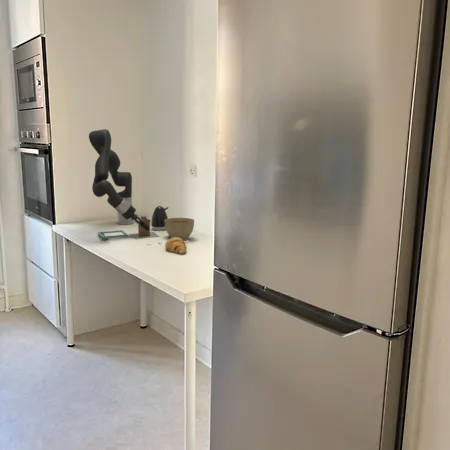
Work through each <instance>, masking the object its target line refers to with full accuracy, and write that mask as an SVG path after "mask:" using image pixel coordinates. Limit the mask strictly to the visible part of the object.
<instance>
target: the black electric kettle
mask: <svg viewBox="0 0 450 450" xmlns="http://www.w3.org/2000/svg"><path fill="white" fill-rule="evenodd" d="M168 209H169V207H168V206H166V207H163V206H161V205H158V206H156V207H155V209H154V210H153V212H152V216H151V221H150V227H152V229H153V231H158V232H163V231H166V227H165V219H169V218H168V214H167V210H168Z"/></svg>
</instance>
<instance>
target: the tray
mask: <svg viewBox="0 0 450 450" xmlns="http://www.w3.org/2000/svg"><path fill="white" fill-rule="evenodd" d="M113 233H122V234H118V235H106V234H113ZM97 237H99V239H100V240H101V241H109V240H110V238H121V237H122V238H124V237H129V233H127V232H125V230H123V229H121V230H120V229H119V230H109V231H108V230H107V231H98V232H97Z"/></svg>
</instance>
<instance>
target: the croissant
mask: <svg viewBox="0 0 450 450" xmlns="http://www.w3.org/2000/svg"><path fill="white" fill-rule="evenodd" d="M184 240H185V239H181V238H179V237H173V238H171V237H170V238H169V239H167V240H166V242H165V245H164V246H165V249H166V250H167V251H168V252H170V253H174V254H179V255H183V254H185V253H186V252H187V249H188V248H187V245H186V242H185V241H184Z"/></svg>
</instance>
